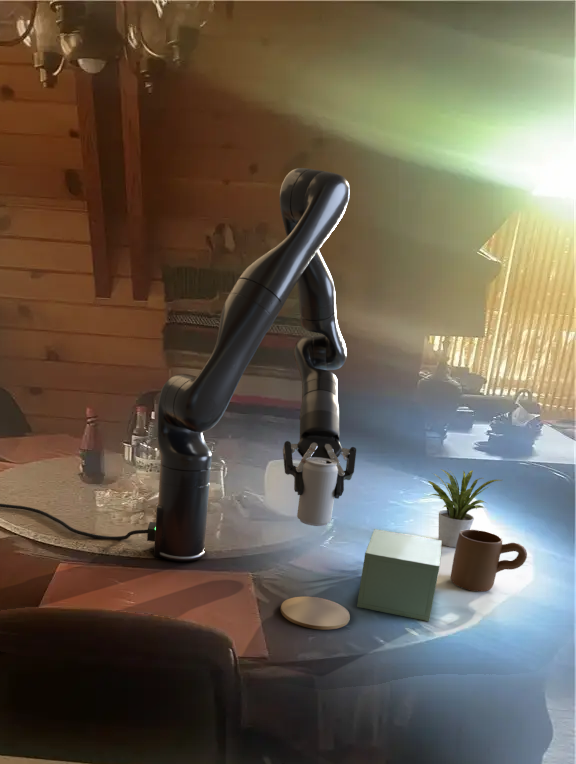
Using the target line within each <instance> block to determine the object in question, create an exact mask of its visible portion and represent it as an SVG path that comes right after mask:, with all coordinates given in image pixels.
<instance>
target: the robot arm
mask: <svg viewBox="0 0 576 764" xmlns="http://www.w3.org/2000/svg"><path fill="white" fill-rule="evenodd" d="M350 191H351V190H350V184H349V181H348V180H347V179H346V177H345V176H344V175H341V174H338V173H336V172H331V171H325V170H319V169H314V168H307V167H297V168H294V169H292V170H291V171H289V172H288V173H287V174H286V176H285V177H284V179H283V181H282V183H281V186H280V189H279V208H280V215H281V220H282V223H283V228H284V231H285V235H286V237H285V238H284V239H283V240H281V242H279V243H278V244H277V245H275V246H274V247H273V248H272V249H270V250H268V251H267V252H265V253H264V254H263V255H260V257H258V258H257V259H256V260H254V261H253V262H251V264H249V265H248V266H247V267H246V268H245V269H244V270H243V271H242V273H241V274H240V276H239V277H238V278H237V280H236V281H235V284H234V285H233V287H232V288H231V290H230V291H229V293H228V295H227V297H226V299H225V301H224V302H223V305H222V309H221V312H220V318H219V323H218V324H219V325H218V332H217V338H216V342H215V345H214V348H213V350H212V352H211V354H210V356H209V357H208V359H207V361H206V363H205V364H204V365H203V368H202V369H201V371H200V372H199V373H198V374H197V376H196V375H193V374H189V373H178V374H175V375H173V376H170V377H169V378H168V379H167V380H166V381H165V383H164V384H163V386H162V388H161V390H160V394H159V397H158V406H157V445H158V450H159V453H160V468H159V483H158V484H159V485H158V498H157V506H156V516H155V521H149V523H148V526H147V528H146V529H136V530H135V529H134V530H131V531H128V532H127V533H126V534H125V535H119V536H111V535H110V536H108V535H100V534H94V533H91V532H85V531H82V530H80V529H76V528H73V527H71V526H70V525H69V524H67V523H66V522H65V521H63V520H62V519H59V518H57V517H55V516H53V515H52V514H49V513H48V512H45V511H43V510H40V509H37V508H34V507H30V506H23V505H16V504H8V503H7V504H6V503H0V508H3V509H5V508H6V509H13V510H21V511H28V512H32V513H36V514H40V515H42V516H44V517H46V518H48V519H50V520H52V521H53V522H55V523H58V524H60V525H61V526H63V527H64V528H65V529H67V530H68V531H70V532H72V533H74V534H76V535H78V536H79V535H80V536H84V537H87V538H92V539H99V540H113V541H123V540H127V539H129V538H130V537H131V536H134V535H140V534H146V542H154V545H153V556H154V557H157V558H162V559H164V560H167V561H173V562H180V563H181V562H185V563H186V562H193V561H198V560H200V559H202V558H204V557H205V551H204V549H205V546H206V532H207V521H208V520H207V518H208V506H209V496H210V484H211V483H210V482H211V472H212V462H213V454H212V451H211V449H210V447H209V446H208V445H207V443H206V441H205V438H204V435H203V433H206V432H207V431H210V430H211V429H213V428H214V427H215V426H216V425H217V424H218V423H219V422H220V420H221V419H222V417H223V416H224V414H225V412H226V410H227V408H228V406H229V405H230V402H231V400H232V397H233V396H234V393H235V391H236V390H237V387H238V384H239V383H240V381H241V378H242V377H243V375H244V372H245V371H246V368H247V367H248V365H249V363H250V362H251V360H252V359H253V357H254V355H255V353H256V352H257V349H258V348H259V346H260V344H261V343H262V341H263V339H264V337H265V336H266V334H267V333H268V331H269V329H271V327H272V326H273V323H274V322H275V320H276V318H277V317H278V316H279V314H280V312H281V310H282V308H283V307H284V306H285V303H286V302H287V299H288V298H289V296H290V294H291V292H293V289H294V288H295V286H296V284H297V294H298V308H299V309H298V310H299V320H300V325H301V327H302V328H303V329H304V330H306V331H307V332H312V333H317V334H320V335H308V336H306V335H305V336H302V337H300V338H299V339H298V340H297V341H296V343H295V344H294V347H293V357H294V360H295V364H296V367H297V369H298V373H299V376H300V380H301V381H300V382H301V403H300V410H299V441H298V442H297V443H291V441H289V440H286V441H285V442H284V443H283V448H282V457H283V467H284V469H283V470H284V474H285V475H287V476H289V475H291V476H292V477H293V478H294V480H293V481H294V483H293V490H294V493H297V496H300V495H302V492H303V475H302V474H303V465H304V464H305V463H306V459H307V458H311V457H320V458H327V459H331V460H334V461H336V462H337V465H336V466H337V468H338V474H337V481H336V488H335V495H334V499H336V500H337V499H338V500H339V499H340V497H341V496H342V495H343V494H344V490H345V481H350V480H351V479H352V477H353V475H354V473H355V467H356V458H357V448H356V447H354V446H350V448H345V447H343V446H342V445H341V442H340V407H339V399H338V398H339V394H338V393H339V389H338V378H337V376H336V374H335V373H333V372H332V371H333V370H334V371H335V370H338V369H341V368H342V367H343V366H344V365H345V363H346V361H347V358H348V357H347V356H348V355H347V354H348V352H347V346H346V343H345V339H344V338H343V335H342V333H341V330H340V327H339V323H338V319H337V304H336V302H337V301H336V288H335V284H334V279H333V277H332V275H331V272H330V270H329V268H328V265H327V264H326V261H325V259H324V257H323V256H322V253H321V252H320V249H321V247H322V246H323V245H324V244H325V242H326V241H327V239H328V238H329V237H330V236H331V234H332V232H333V231H334V230H335V229H336V227H337V225H338V224H339V222H340V221H341V219H342V218H343V216H344V214H345V212H346V210H347V207H348V203H349V201H350ZM296 451H297V453H298V454H299V455H300V456H301V460H300V461H299V463H298V464H297V466H296V465H294V462H293V461H294V460H293V456H294V455H295V452H296ZM340 455H342V457H343V460H344V461H346V464H345V470H344V469H343V468H342V465H341V462H340V460H339V457H340ZM323 461H324V460H323ZM327 463H328V462H327V461H326V464H327Z"/></svg>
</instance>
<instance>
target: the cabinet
mask: <svg viewBox="0 0 576 764" xmlns="http://www.w3.org/2000/svg"><path fill="white" fill-rule="evenodd" d="M442 545H443V544H442V540H438V539H435V538H431V537H430V538H429V537H425V536H424V537H423V536H419V535H412V534H408V533H406V534H405V533H400V532H396V531H390V530H383V529H377V528H374V529H373V531H372V534H371V536H370V540H369V542H368V544H367V547H366V550H365V552H364V558H363V565H362V571H361V577H360V584H359V591H358V597H357V603H356V607H357V608H362V609H366V610H372V611H377V612H381V613H385V614H391V615H395V616H401V617H406V618H411V619H415V620H420V621H425V622H430V620H431V614H432V608H433V603H434V597H435V593H436V587H437V582H438V576H439V570H440V566H441V565H440V564H441V556H442V555H441V554H442Z"/></svg>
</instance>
